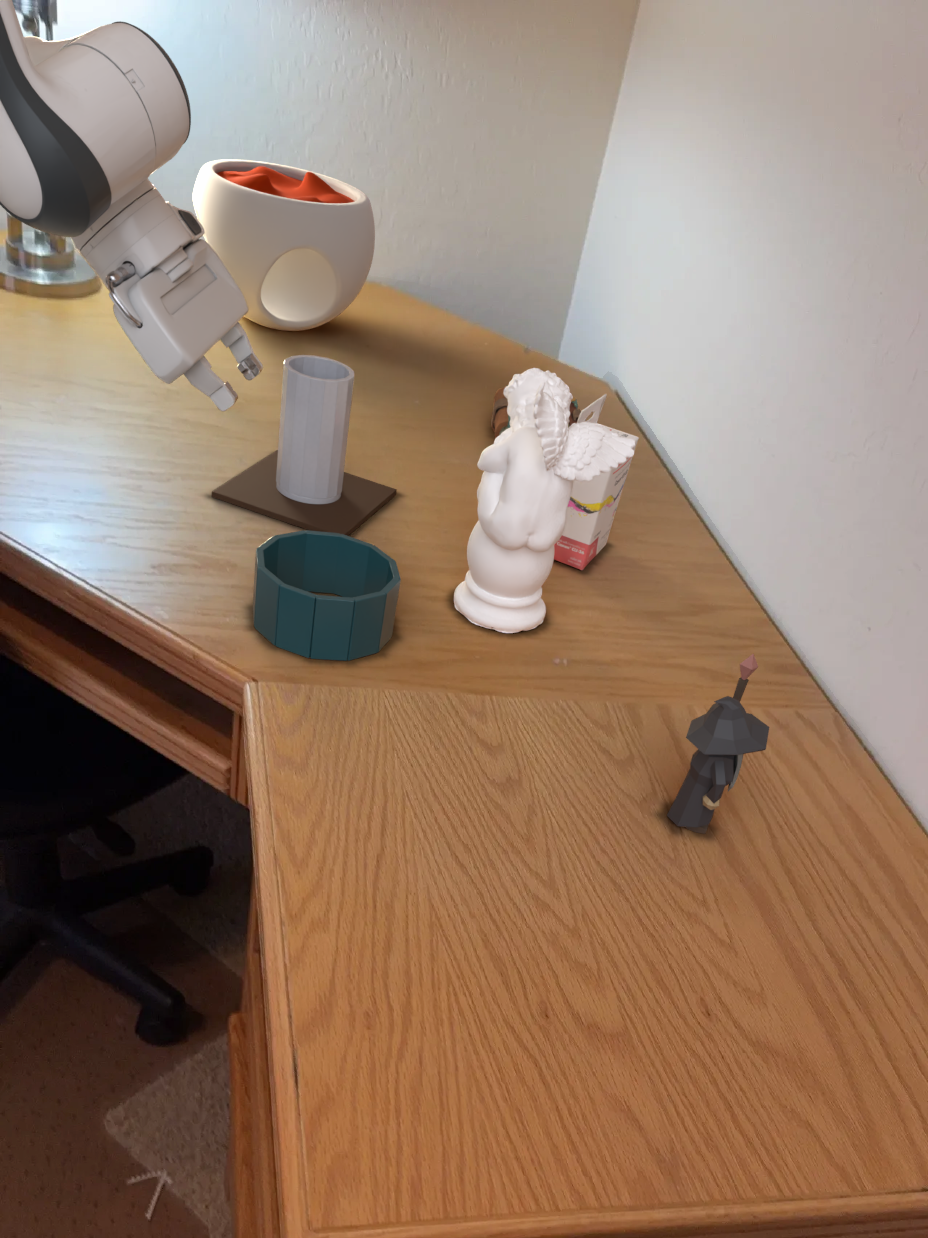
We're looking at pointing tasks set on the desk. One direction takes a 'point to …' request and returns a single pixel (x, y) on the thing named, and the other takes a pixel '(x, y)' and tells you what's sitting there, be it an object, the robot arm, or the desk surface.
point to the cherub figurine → (529, 500)
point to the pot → (286, 239)
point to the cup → (313, 428)
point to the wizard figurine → (717, 755)
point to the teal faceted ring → (320, 619)
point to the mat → (337, 517)
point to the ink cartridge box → (592, 505)
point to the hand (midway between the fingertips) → (244, 390)
